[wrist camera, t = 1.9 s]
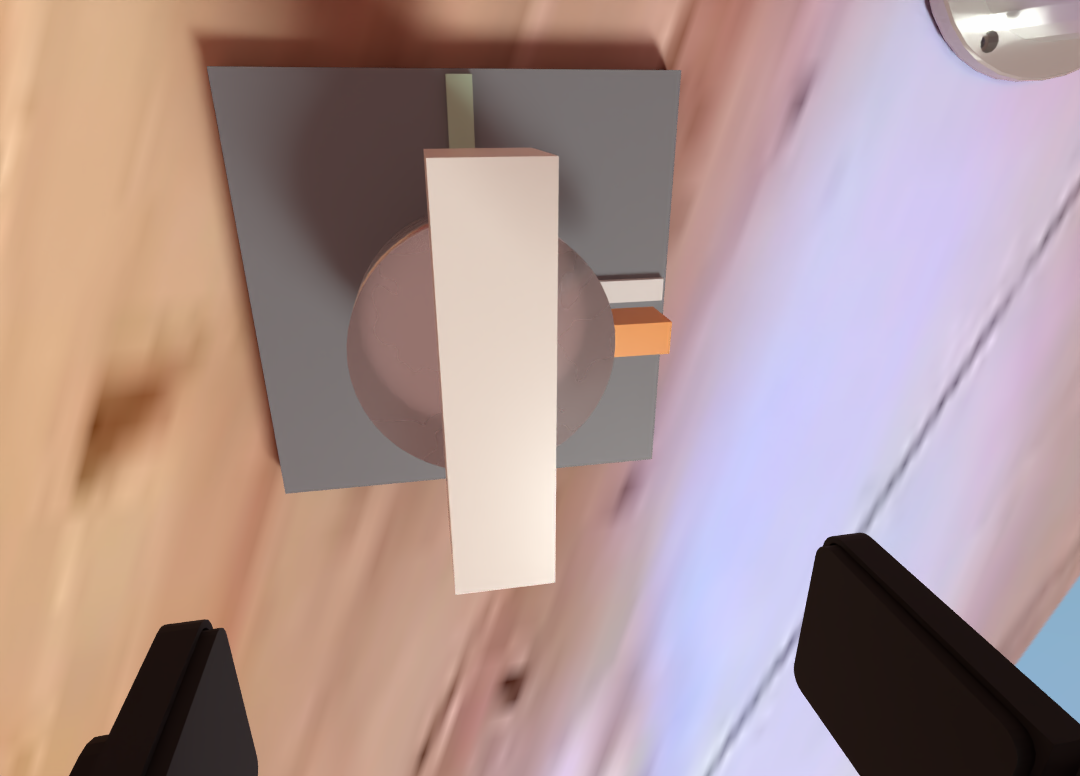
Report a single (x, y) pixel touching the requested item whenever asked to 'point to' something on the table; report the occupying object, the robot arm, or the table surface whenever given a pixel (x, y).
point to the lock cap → (490, 352)
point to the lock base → (400, 198)
